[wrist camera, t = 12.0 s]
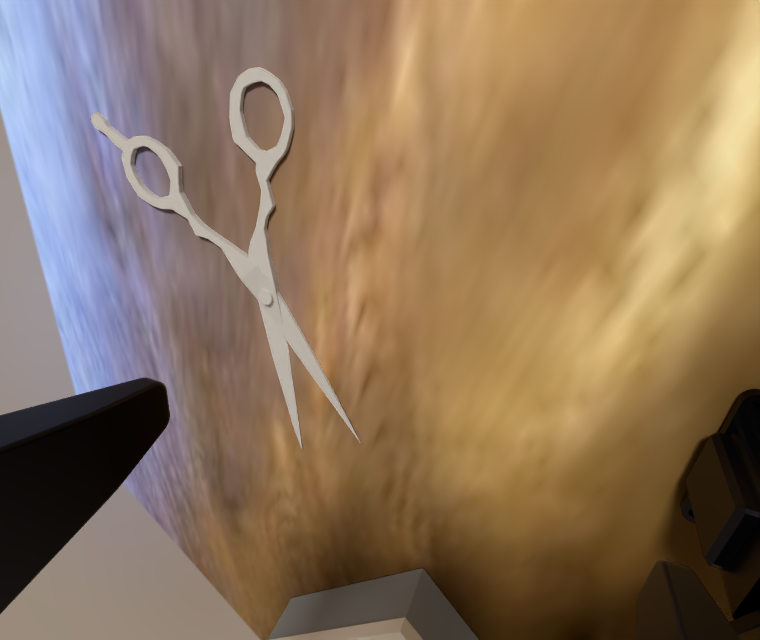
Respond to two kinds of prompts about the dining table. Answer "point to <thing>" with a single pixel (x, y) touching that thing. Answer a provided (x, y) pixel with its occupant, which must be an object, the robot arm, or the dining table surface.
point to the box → (374, 612)
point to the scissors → (258, 261)
